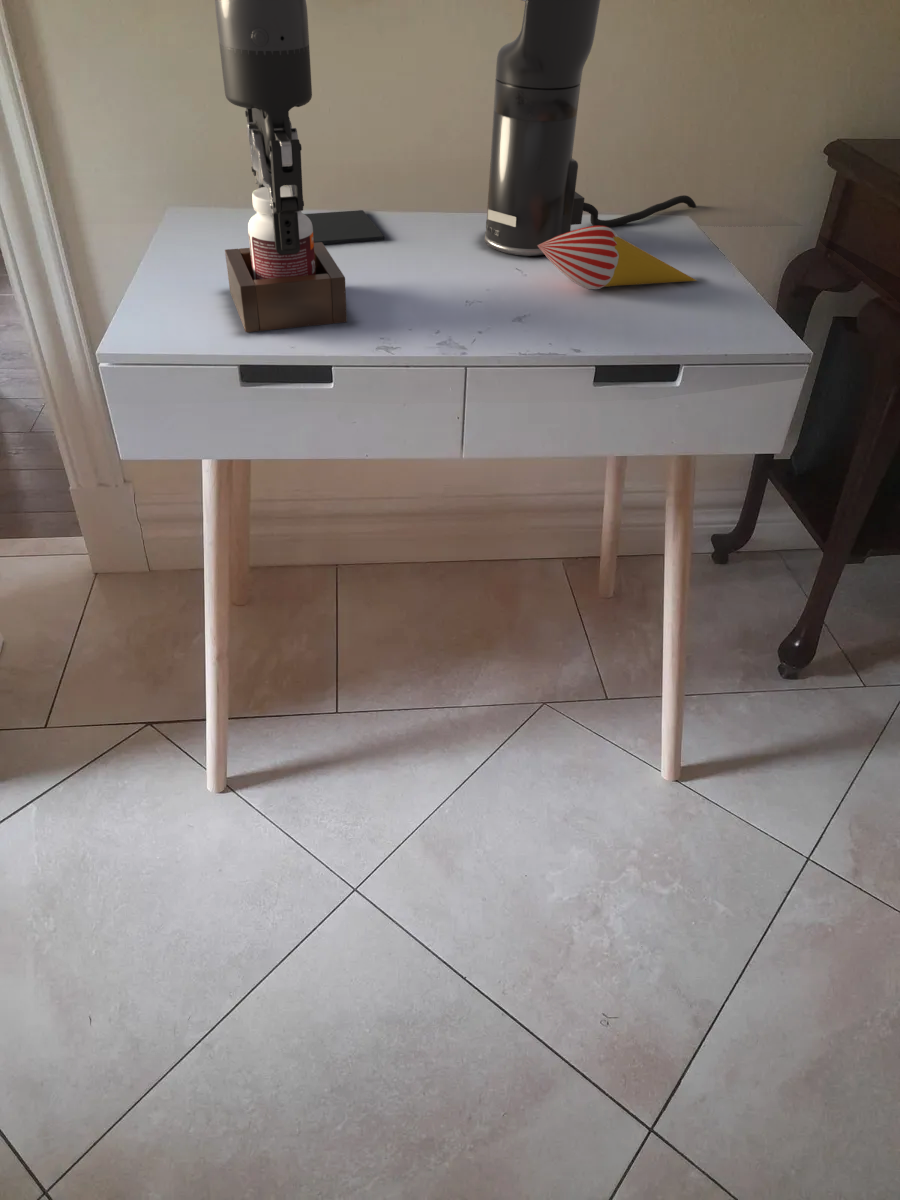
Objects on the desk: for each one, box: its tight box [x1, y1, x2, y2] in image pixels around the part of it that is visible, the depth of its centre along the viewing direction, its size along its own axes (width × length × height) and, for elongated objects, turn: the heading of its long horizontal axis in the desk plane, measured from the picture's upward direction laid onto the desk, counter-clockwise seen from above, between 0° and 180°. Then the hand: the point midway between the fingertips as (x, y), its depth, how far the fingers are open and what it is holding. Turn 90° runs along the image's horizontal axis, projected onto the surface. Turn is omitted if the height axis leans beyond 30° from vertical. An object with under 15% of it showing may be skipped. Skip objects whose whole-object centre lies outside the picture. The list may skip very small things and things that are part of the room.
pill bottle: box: [247, 185, 316, 280], centre depth 86 cm, size 6×6×11 cm
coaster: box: [304, 209, 385, 245], centre depth 108 cm, size 10×10×1 cm
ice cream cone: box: [537, 225, 698, 290], centre depth 96 cm, size 6×6×20 cm
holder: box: [224, 242, 348, 333], centre depth 89 cm, size 10×10×4 cm
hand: (281, 240), depth 86 cm, fingers closed on pill bottle, 6 cm apart
